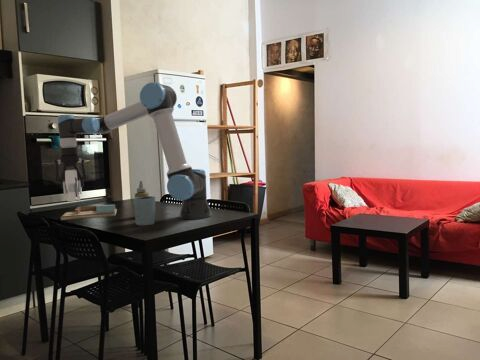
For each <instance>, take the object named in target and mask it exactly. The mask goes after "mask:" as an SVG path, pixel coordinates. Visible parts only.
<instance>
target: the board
mask: <svg viewBox="0 0 480 360" xmlns="http://www.w3.org/2000/svg"><path fill="white" fill-rule="evenodd" d="M96 206H97V205H87V206H77V207H76V208H75V209H74V211H68V212H65V213H64V214H63V215H61V216H60V220H61V221H66V220H79V219H93V218H107V217H108V218H110V217H116V215H117V212H118V211H117V210H118V209H117V208H115V212H113V213H98V214H97V212H96Z"/></svg>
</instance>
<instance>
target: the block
mask: <svg viewBox="0 0 480 360" xmlns="http://www.w3.org/2000/svg"><path fill="white" fill-rule="evenodd" d="M95 206H96V212H97V214H98V213H113V212H115V209H116V204H104V205H103V204H102V205H95Z"/></svg>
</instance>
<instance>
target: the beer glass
mask: <svg viewBox="0 0 480 360" xmlns="http://www.w3.org/2000/svg"><path fill="white" fill-rule="evenodd" d="M79 181H80V179H79V176H78V171H77V170H75V169H67V170H64V182H65V186H66V193H67V195H66V196H67V198H66V201H67V202H78V201H81V197H80V192H79Z"/></svg>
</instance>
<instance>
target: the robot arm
mask: <svg viewBox="0 0 480 360" xmlns="http://www.w3.org/2000/svg"><path fill="white" fill-rule="evenodd" d="M177 98H178V97H177V93H176V91H175V90H174V88H172V87H170V86H169V85H165V84H161V83H160V82H156V81H152V82H148V83H146V84H144V85H143V86H142V88H141V90H140V92H139V100H140V101H138V102H135V103H133V104H131V105H128V106H126V107H124V108H121V109H118V110H115V111H113V112H111V113H109V114H107V115H104V116H101V117H100V118H99V117H98V118H97V117H95V116H88V117H87V116H86V117H77V118H75V115H74V114H60V115H58V117H57V128H58V134H59V145H60V147H61V148H60V159H56V160H54V164H55V181H56V182H60V183H59V184H60V189H62V190H63V195H64V196H67V190H66V186H65V182H64V170H68V167H73V168H74V170H77V171H78V176H79V179H80V181H79V195H82V194H83V191H82V189H83V188H84V186H85V185H84V180H86V179H87V178H88V177H87V172H86V171H87V170H86V165H85V161H86V159H85V158H80V157H79V155H78V154H79V153H78V147H77V146H78V141H77V135H84V134H85V135H86V134H87V135H88V134H90V135H93V134H98V135H106V134H108V133H110V132H111V131H112V130H114V129H118V128H120V127H122V126H124V125H128V124H129V123H132V122H134V121H137V120H140V119H142V118H145V117H147V116H149V117H150V118H152V119H153V121H154V126H155V128H156V132H157V135H158V138H159V142H160V144H161V148H162V149H161V150H162V152H163V156H164V158H165V161H166V165H167V168H168V170H167V172H166V176H167V179H168V180H167V184H166V190H167V192H168V194H169V195H170V196H171V197H172V198H173V199H175V200H178V201H182V203H181V207H180V211H179V219H185V220H196V219H197V220H199V219H206V218H210V217H211V216H212V212H211V208H210V206H209V203H208V200H207V175H206V171H205V170H204V169H201V168H200V169H198V168H192V166H191V165H189V164H188V163H187V159H186V157H185V153H184V150H183V146H182V144H181V140H180V137H179V133H178V130H177V127H176V123H175V119H174V117H173V112H174V111H175V109H174V107H175V106H176V104H177V100H178V99H177ZM78 162H80V165H81V171H82V173H81V171H80V169H79V167H78ZM61 163H62V164H63V168H62V172H61V171H60V167H61V166H60V164H61ZM60 172H61V173H60ZM60 174H61V176H60Z"/></svg>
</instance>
